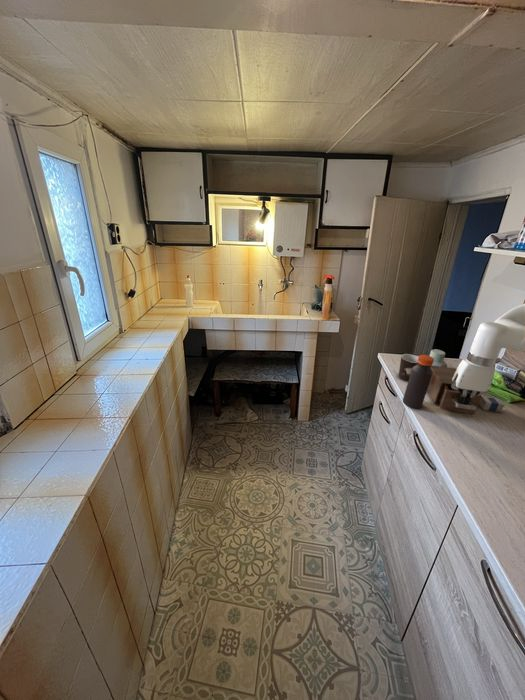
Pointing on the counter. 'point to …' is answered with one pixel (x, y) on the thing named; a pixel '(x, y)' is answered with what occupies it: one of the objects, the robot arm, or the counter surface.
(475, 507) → the counter surface
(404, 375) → the coffee mug
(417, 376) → the bottle
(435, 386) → the cabinet
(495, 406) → the striped block
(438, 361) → the air freshener
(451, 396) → the drawer
